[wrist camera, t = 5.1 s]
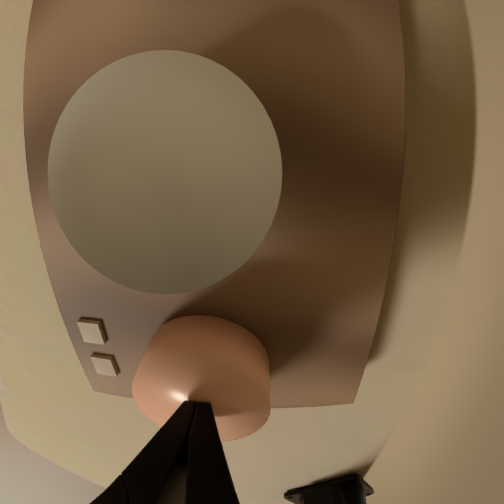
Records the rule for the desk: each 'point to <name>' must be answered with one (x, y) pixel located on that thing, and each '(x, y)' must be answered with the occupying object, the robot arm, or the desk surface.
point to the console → (292, 189)
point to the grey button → (165, 172)
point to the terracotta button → (205, 374)
